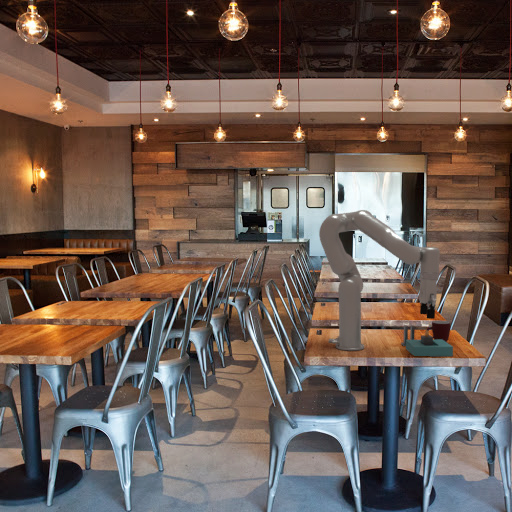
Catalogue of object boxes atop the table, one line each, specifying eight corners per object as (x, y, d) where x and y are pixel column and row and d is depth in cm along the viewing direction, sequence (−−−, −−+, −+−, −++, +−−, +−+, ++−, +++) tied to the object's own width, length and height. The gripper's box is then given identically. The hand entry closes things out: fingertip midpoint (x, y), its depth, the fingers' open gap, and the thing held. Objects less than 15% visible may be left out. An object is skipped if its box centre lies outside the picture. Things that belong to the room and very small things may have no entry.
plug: (423, 353, 246) (423, 331, 245) (420, 351, 250) (420, 329, 249) (432, 353, 246) (433, 331, 245) (430, 351, 250) (430, 329, 249)
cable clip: (403, 346, 259) (403, 326, 258) (401, 344, 263) (401, 325, 262) (416, 346, 259) (417, 326, 258) (414, 344, 263) (414, 324, 262)
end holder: (414, 356, 241) (414, 347, 240) (405, 348, 255) (405, 339, 254) (452, 356, 241) (453, 346, 240) (442, 348, 255) (442, 339, 254)
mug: (426, 345, 261) (426, 323, 260) (425, 341, 269) (425, 320, 268) (451, 346, 259) (451, 324, 258) (449, 342, 266) (449, 320, 266)
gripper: (414, 273, 254) (412, 312, 255) (426, 278, 237) (424, 320, 238) (431, 274, 254) (429, 312, 255) (444, 279, 237) (442, 320, 238)
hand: (427, 316), depth 247 cm, fingers open, 9 cm apart
